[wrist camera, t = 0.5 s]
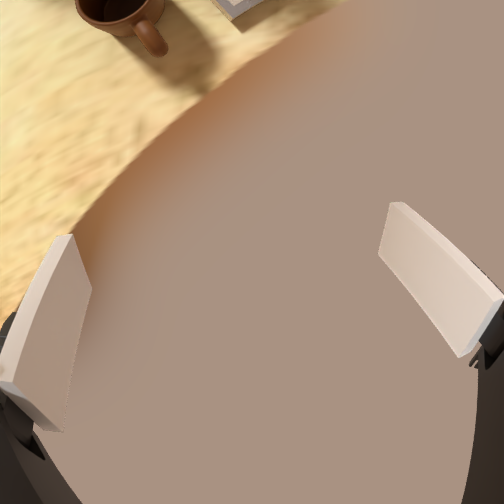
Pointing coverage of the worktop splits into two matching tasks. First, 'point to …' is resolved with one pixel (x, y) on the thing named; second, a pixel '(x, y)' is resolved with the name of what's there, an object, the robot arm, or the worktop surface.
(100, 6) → the mug
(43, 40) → the worktop surface
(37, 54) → the worktop surface
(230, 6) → the panel
